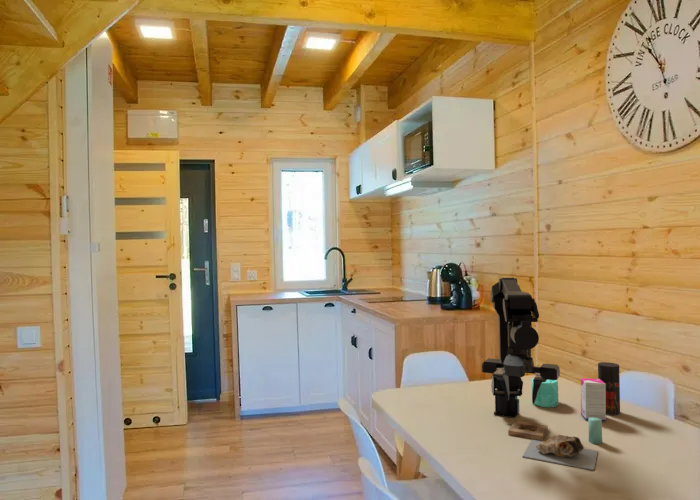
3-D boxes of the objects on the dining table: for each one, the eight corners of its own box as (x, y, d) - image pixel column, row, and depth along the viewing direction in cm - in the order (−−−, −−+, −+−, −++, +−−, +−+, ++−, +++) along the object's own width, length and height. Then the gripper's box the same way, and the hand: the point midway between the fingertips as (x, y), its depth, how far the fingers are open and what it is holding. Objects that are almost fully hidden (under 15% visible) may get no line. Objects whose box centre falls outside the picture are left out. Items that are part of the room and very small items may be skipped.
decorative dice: (532, 399, 170) (532, 376, 170) (557, 401, 167) (557, 377, 167) (532, 406, 162) (531, 382, 162) (558, 408, 159) (558, 383, 159)
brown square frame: (508, 434, 138) (508, 430, 138) (515, 424, 146) (515, 420, 146) (542, 440, 133) (542, 435, 133) (547, 429, 141) (547, 425, 141)
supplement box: (606, 421, 146) (605, 383, 146) (585, 420, 148) (584, 382, 148) (600, 415, 152) (600, 378, 152) (580, 414, 153) (579, 377, 153)
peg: (588, 442, 131) (587, 420, 131) (589, 438, 134) (588, 416, 134) (601, 445, 129) (601, 422, 129) (602, 440, 132) (602, 418, 132)
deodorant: (594, 409, 157) (594, 362, 157) (612, 408, 158) (611, 362, 158) (606, 415, 152) (605, 367, 152) (624, 414, 152) (623, 366, 152)
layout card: (522, 457, 123) (522, 455, 123) (531, 440, 133) (531, 439, 133) (593, 470, 115) (593, 469, 115) (597, 451, 125) (597, 450, 125)
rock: (584, 451, 125) (545, 435, 131) (587, 432, 123) (547, 416, 129) (574, 471, 119) (532, 453, 125) (576, 451, 117) (534, 434, 123)
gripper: (475, 344, 127) (476, 405, 127) (553, 350, 117) (554, 416, 117) (486, 337, 136) (487, 393, 136) (559, 342, 127) (560, 403, 127)
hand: (520, 401), depth 129 cm, fingers open, 6 cm apart
